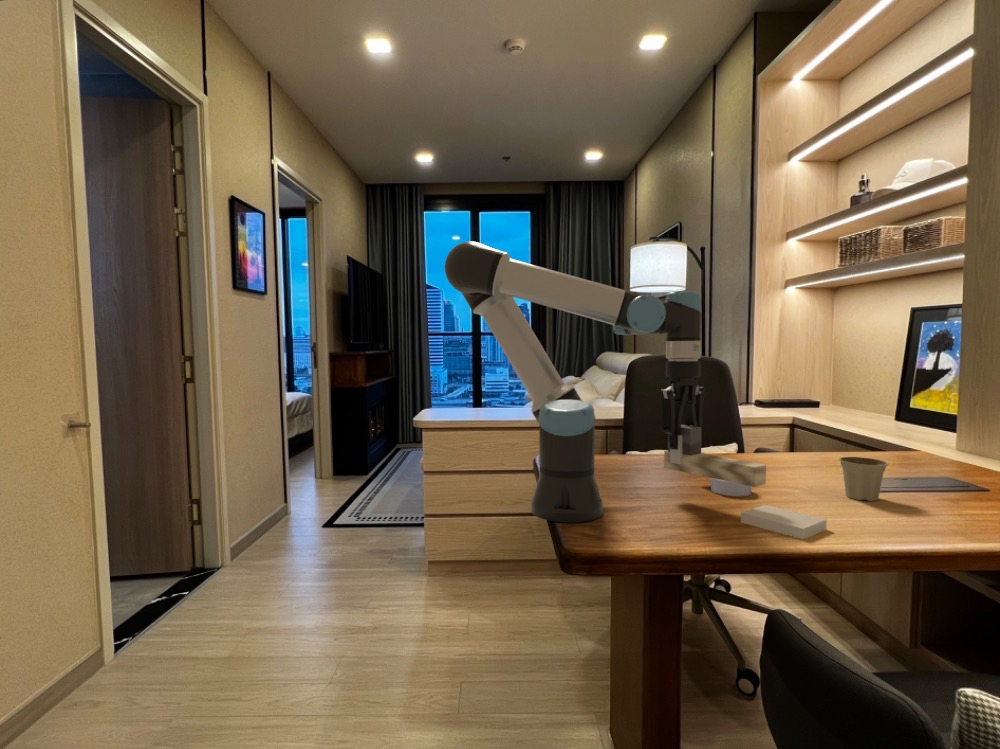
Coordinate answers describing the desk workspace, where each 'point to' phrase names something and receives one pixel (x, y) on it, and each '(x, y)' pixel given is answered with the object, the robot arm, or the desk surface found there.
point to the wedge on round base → (729, 488)
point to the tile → (784, 521)
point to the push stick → (713, 462)
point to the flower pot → (862, 477)
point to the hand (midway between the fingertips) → (682, 461)
